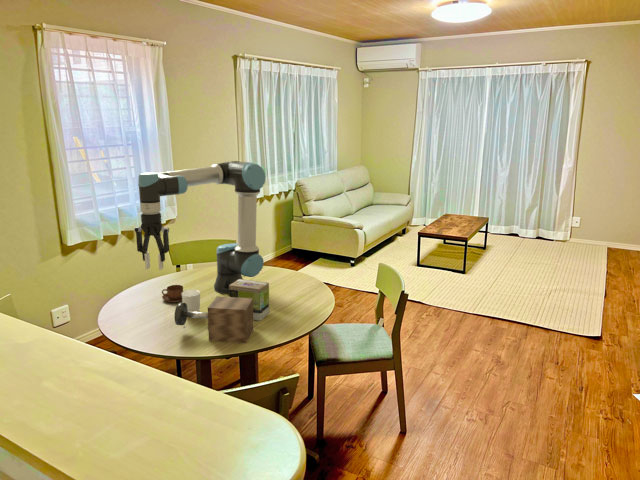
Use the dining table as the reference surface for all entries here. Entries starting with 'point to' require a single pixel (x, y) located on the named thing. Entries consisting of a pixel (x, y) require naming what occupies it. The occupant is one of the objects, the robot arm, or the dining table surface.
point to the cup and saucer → (173, 293)
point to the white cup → (192, 300)
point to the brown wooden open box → (230, 319)
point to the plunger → (186, 314)
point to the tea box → (252, 295)
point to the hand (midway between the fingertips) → (154, 268)
